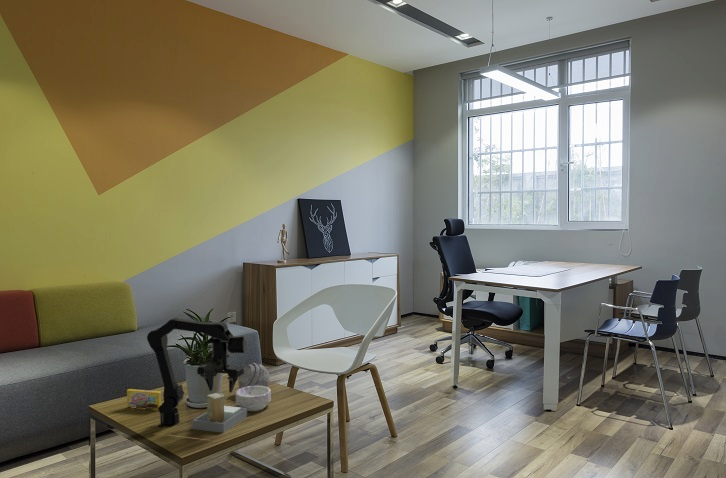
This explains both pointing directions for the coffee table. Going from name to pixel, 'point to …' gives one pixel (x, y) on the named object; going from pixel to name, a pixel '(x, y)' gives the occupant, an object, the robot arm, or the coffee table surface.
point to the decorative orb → (254, 376)
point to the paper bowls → (253, 397)
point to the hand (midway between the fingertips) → (220, 391)
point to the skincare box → (215, 408)
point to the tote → (205, 425)
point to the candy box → (144, 399)
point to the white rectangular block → (230, 412)
